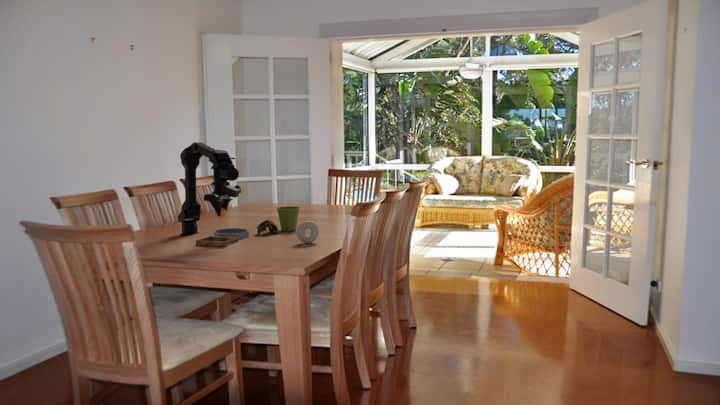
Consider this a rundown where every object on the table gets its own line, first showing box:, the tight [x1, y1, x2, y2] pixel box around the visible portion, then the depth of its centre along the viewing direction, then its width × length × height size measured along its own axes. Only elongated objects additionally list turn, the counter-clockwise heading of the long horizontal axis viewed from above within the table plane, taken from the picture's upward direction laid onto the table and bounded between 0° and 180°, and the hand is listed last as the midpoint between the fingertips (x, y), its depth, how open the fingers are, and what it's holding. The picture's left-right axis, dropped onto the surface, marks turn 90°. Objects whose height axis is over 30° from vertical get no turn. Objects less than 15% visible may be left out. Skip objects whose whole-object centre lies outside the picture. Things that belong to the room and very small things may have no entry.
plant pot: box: [275, 205, 301, 232], centre depth 294 cm, size 12×12×11 cm
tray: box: [195, 235, 239, 249], centre depth 258 cm, size 14×11×2 cm
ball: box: [218, 208, 227, 218], centre depth 261 cm, size 4×4×4 cm
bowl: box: [213, 227, 250, 240], centre depth 273 cm, size 15×15×3 cm
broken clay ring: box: [256, 219, 280, 235], centre depth 282 cm, size 12×10×8 cm
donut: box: [296, 220, 320, 244], centre depth 260 cm, size 10×4×10 cm, turn 111°
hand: (221, 215), depth 261 cm, fingers closed on ball, 4 cm apart
